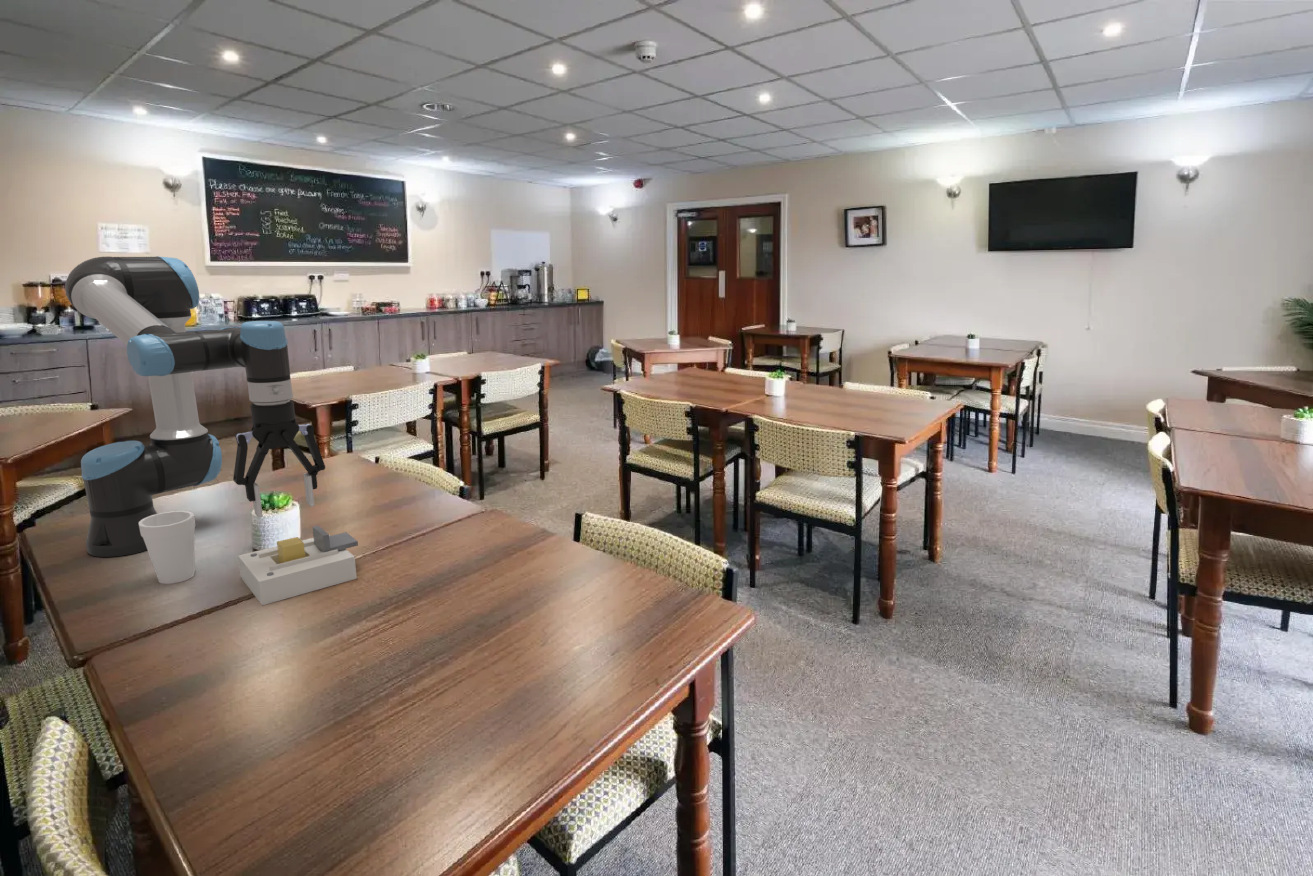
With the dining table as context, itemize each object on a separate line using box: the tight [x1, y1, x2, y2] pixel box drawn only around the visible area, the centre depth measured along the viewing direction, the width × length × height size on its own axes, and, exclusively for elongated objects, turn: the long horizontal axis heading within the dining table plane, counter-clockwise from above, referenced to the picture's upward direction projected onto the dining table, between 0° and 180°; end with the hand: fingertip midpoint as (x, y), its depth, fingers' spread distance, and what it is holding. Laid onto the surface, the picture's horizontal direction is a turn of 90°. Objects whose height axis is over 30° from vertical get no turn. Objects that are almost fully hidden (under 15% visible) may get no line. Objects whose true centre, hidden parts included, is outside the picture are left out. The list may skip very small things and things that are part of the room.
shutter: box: [311, 525, 359, 553], centre depth 152 cm, size 7×7×4 cm
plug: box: [276, 536, 305, 563], centre depth 146 cm, size 4×4×8 cm
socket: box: [237, 534, 357, 606], centre depth 148 cm, size 16×18×6 cm
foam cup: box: [138, 510, 197, 585], centre depth 146 cm, size 10×9×13 cm
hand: (285, 509), depth 144 cm, fingers open, 9 cm apart
